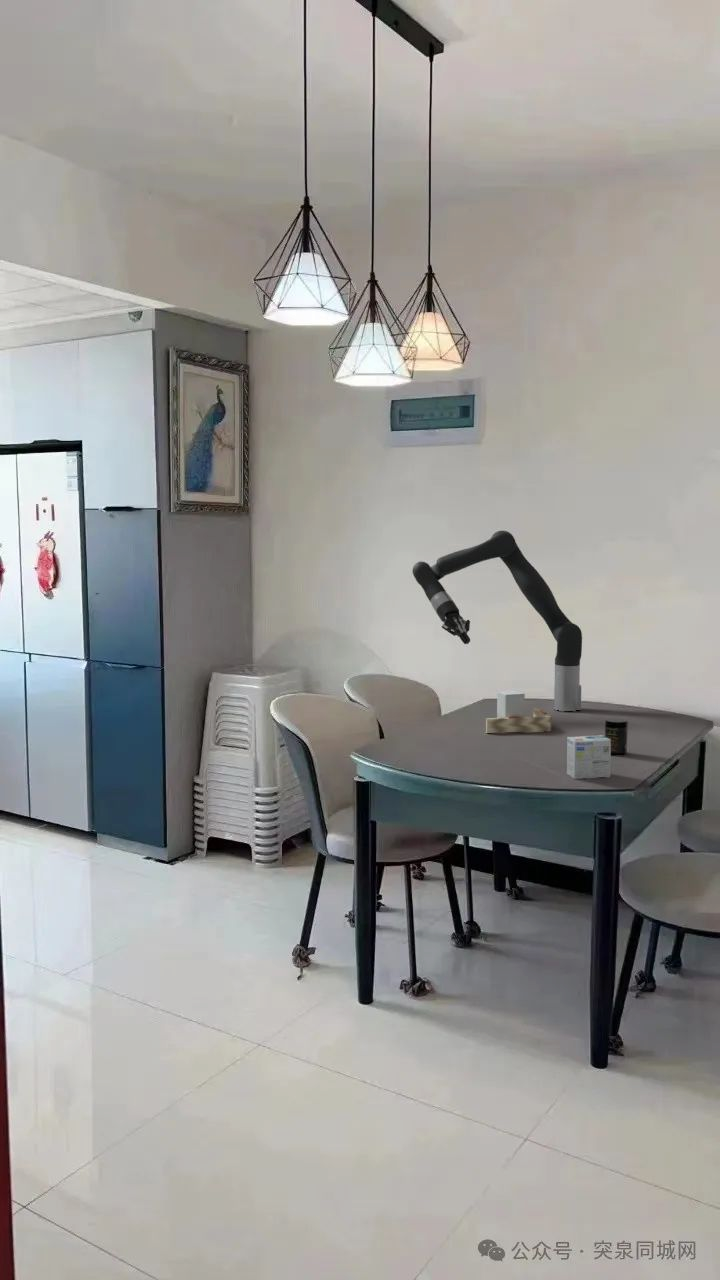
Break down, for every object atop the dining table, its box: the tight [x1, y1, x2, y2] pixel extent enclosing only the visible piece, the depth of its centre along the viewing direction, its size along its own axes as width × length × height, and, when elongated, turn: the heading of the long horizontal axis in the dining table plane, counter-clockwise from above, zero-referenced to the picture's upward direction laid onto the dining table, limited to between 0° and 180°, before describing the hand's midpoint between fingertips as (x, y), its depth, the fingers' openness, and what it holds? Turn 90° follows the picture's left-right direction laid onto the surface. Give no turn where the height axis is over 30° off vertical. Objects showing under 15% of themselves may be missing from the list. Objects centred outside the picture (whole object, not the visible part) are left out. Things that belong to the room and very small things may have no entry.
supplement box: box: [496, 690, 526, 718], centre depth 335 cm, size 7×7×13 cm
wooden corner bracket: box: [485, 707, 552, 734], centre depth 337 cm, size 23×17×6 cm
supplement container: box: [604, 717, 629, 756], centre depth 298 cm, size 7×7×10 cm
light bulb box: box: [566, 734, 612, 780], centre depth 272 cm, size 11×7×11 cm, turn 99°
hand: (467, 642), depth 351 cm, fingers closed
